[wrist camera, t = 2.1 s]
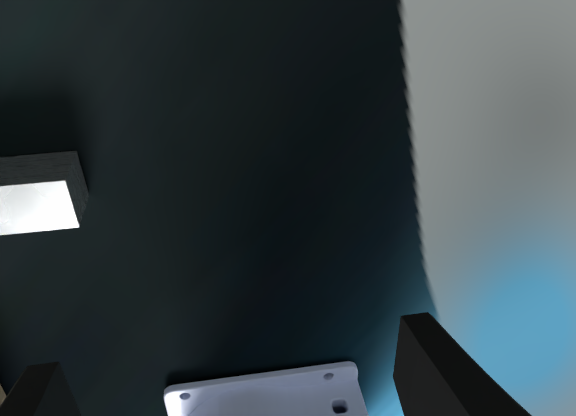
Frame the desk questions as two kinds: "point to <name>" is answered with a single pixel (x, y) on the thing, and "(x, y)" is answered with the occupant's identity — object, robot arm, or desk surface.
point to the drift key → (41, 192)
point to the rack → (2, 395)
